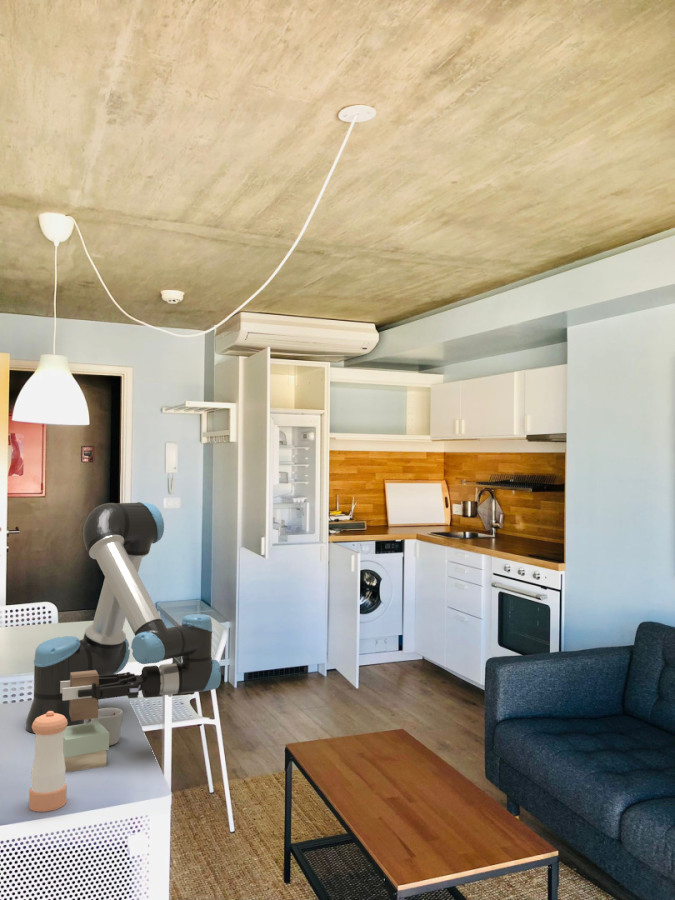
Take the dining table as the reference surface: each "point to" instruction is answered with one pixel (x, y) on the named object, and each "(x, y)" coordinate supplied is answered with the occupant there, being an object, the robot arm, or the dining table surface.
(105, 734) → the tower top block
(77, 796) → the dining table surface
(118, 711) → the cup
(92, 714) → the walnut block
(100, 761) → the tower bottom block
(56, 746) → the pepper shaker
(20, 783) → the dining table surface
